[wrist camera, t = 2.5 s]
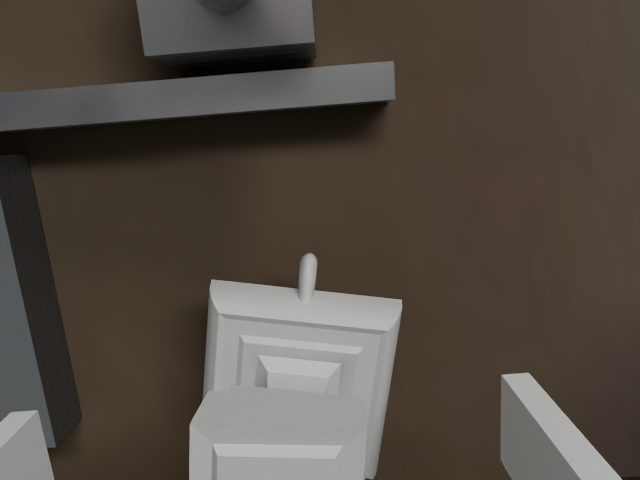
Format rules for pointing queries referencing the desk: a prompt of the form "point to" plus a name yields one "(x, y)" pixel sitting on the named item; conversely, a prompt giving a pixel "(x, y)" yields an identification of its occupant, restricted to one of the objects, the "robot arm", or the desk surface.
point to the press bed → (30, 312)
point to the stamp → (293, 382)
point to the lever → (226, 31)
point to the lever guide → (197, 97)
